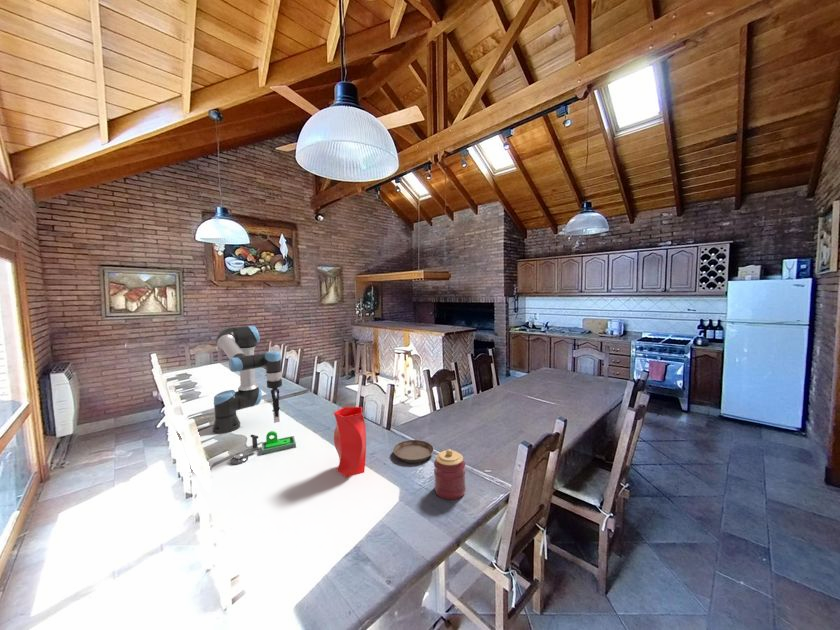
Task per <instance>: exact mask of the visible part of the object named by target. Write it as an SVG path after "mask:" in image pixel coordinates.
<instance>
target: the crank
mask: <svg viewBox="0 0 840 630" xmlns="http://www.w3.org/2000/svg"><path fill="white" fill-rule="evenodd" d="M250 438H251V441H252V442H251V443H252V447H250V448H248V449H245V450H243V451H241V452H236V453H235V454H234V455H233V457H234V459H235V460H239V459H242V458H243V457H244V456H246V455H247V456H249V455H250V454H252V453H254V452H257V451H259V446H258V439H259V435H255V434H250Z"/></svg>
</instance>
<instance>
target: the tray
mask: <svg viewBox="0 0 840 630" xmlns="http://www.w3.org/2000/svg"><path fill="white" fill-rule="evenodd" d="M289 438H290V444H287V445H282V446H277V447H273V448H268V449H266V445H267V443H266V441H263V442H261V453H262V455H263V456H264V455H268V454H272V453H277V452H280V451H286V450H290V449H295V448H297V442H296V438H295V435H292V436H291V435H290V436H285V437H282V438H277V439H278V440H283V439H289Z"/></svg>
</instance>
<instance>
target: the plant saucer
mask: <svg viewBox="0 0 840 630" xmlns="http://www.w3.org/2000/svg"><path fill="white" fill-rule="evenodd" d="M434 451H435V450H434V446H433V445H432V444H431V443H429V442H427V441H424V440H420V439H410V440H408V439H407V440H404V441H401V442H399V443H397V444H396V445H395V446H394V447H393V451H392V452H393V454H394V455H395V456H396V457H397V458H398V459H399V460H400V461H403V462H406V463H416V464H417V463H421V462H423V461H426V460H427V459H428V458H430V457H431V456H432V455H433V453H434Z"/></svg>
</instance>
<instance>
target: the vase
mask: <svg viewBox="0 0 840 630" xmlns="http://www.w3.org/2000/svg"><path fill="white" fill-rule="evenodd" d="M333 414H334V416H335V417H334V418H335V421H336V425H335V429H334V435H333V444H334V447H335V450H336V452H337V454H338V458H339V463H338V466H337V468H336V471H337V472H338V473H339V474H340V475H341V476H343V477H344V478H349V477H353V476H356V475H360V474H364V473H365V467H366V456H367V431H366V430H367V429H366V423H365V418H364V415H363V407H362V406H344V407H342V408H340V409H338V410H336V411H335V412H334V411H333Z"/></svg>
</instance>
